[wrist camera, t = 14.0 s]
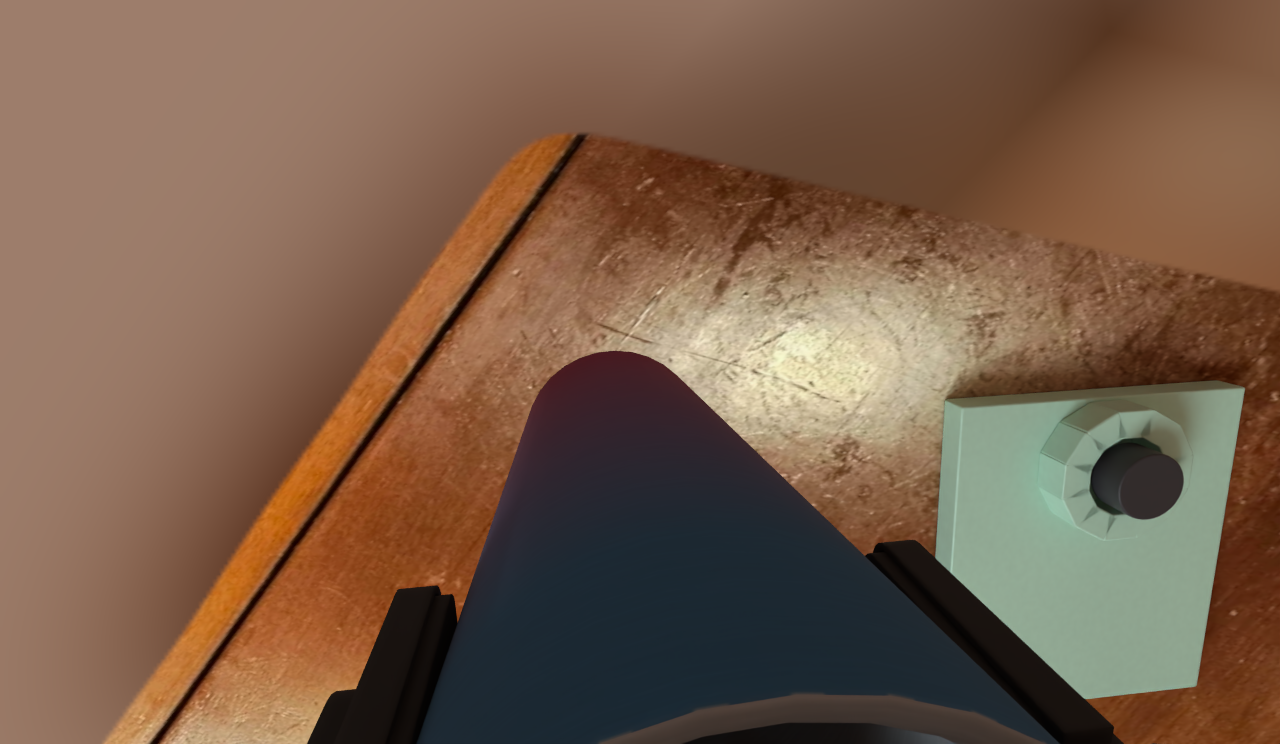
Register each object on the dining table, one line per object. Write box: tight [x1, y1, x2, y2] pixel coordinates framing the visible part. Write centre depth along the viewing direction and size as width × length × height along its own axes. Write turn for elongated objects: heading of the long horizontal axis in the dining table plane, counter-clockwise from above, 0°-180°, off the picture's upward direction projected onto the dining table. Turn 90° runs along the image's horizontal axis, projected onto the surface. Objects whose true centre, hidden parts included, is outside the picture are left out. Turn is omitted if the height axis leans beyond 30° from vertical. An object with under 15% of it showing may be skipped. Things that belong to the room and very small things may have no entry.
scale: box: [935, 380, 1245, 699], centre depth 31 cm, size 15×13×3 cm
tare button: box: [1091, 442, 1184, 520], centre depth 28 cm, size 3×3×2 cm
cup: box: [416, 351, 1060, 744], centre depth 13 cm, size 7×7×15 cm
